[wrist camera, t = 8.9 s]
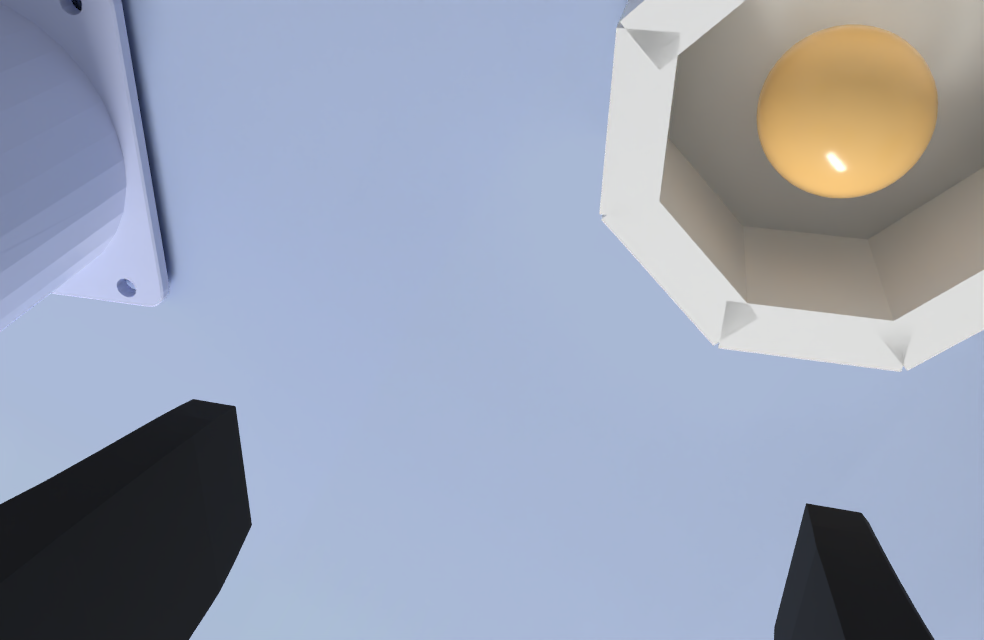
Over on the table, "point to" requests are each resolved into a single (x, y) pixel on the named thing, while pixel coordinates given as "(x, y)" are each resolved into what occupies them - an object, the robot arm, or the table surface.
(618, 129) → the bowl
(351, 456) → the table surface
